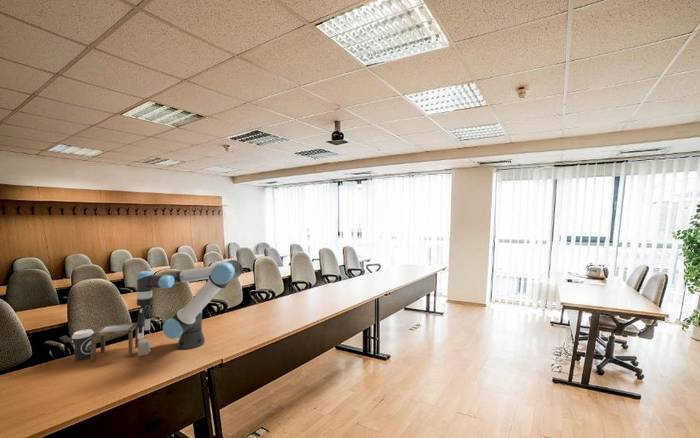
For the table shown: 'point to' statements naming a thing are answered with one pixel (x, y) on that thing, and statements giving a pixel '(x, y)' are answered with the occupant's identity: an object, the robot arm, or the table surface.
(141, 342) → the stone
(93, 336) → the hatch frame
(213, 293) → the robot arm
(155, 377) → the table surface
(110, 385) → the table surface
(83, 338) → the coffee cup
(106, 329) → the hatch
